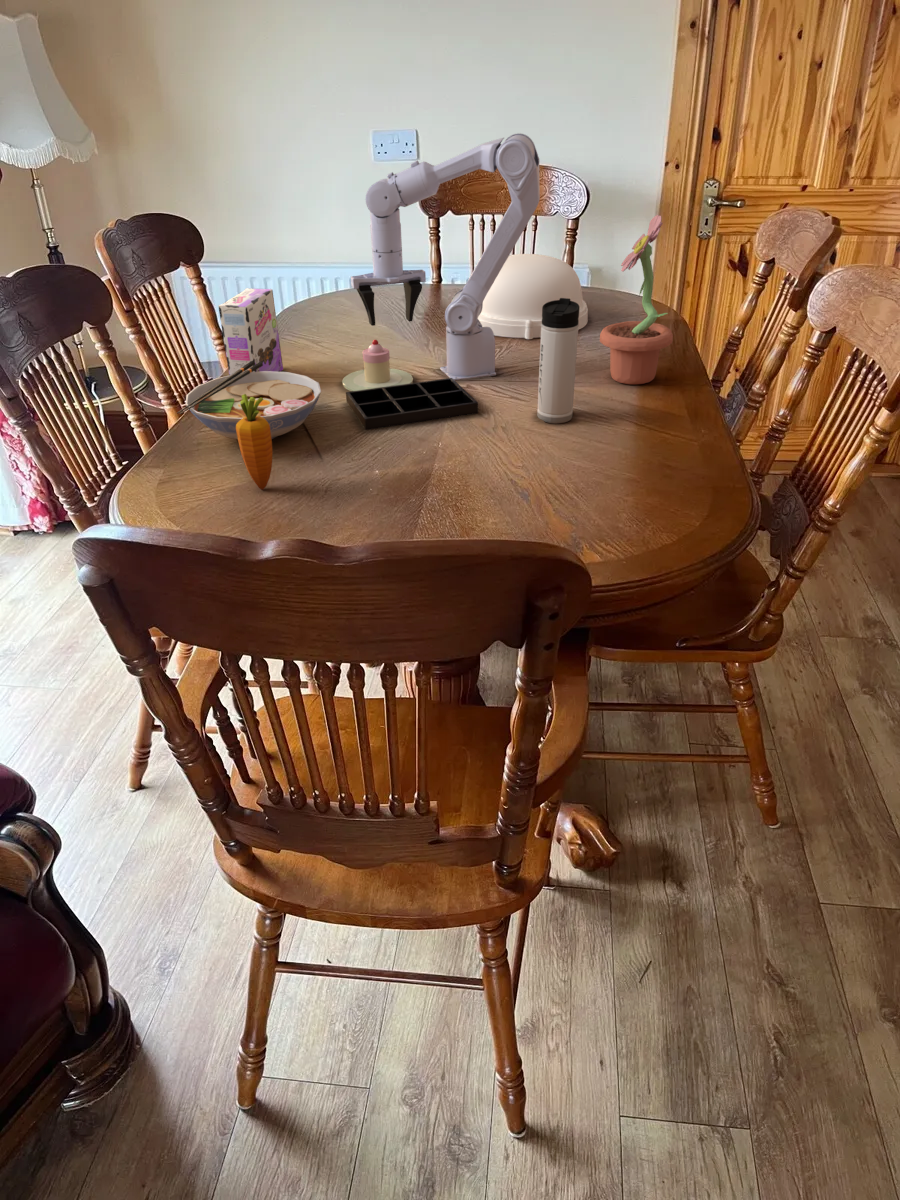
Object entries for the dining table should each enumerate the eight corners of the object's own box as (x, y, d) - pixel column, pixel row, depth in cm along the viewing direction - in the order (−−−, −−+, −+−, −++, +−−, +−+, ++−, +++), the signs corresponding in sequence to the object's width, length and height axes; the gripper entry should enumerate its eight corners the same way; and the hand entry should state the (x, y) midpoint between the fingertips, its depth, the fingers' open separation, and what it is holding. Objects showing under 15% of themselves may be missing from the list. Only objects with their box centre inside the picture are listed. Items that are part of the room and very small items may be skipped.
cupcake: (386, 373, 169) (384, 334, 165) (393, 381, 165) (391, 341, 161) (361, 376, 168) (358, 337, 163) (368, 385, 164) (365, 345, 159)
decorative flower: (598, 364, 174) (612, 206, 158) (667, 367, 172) (687, 208, 155) (594, 388, 162) (608, 221, 146) (667, 392, 160) (690, 223, 143)
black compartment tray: (346, 404, 158) (345, 392, 156) (452, 389, 163) (451, 377, 162) (365, 432, 146) (364, 419, 145) (478, 415, 152) (478, 402, 151)
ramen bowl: (281, 472, 133) (274, 423, 129) (161, 453, 140) (150, 406, 136) (350, 415, 153) (346, 371, 148) (242, 401, 160) (235, 359, 155)
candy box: (258, 392, 163) (246, 306, 154) (230, 391, 164) (216, 305, 155) (284, 369, 175) (273, 287, 165) (257, 368, 176) (245, 286, 166)
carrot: (248, 483, 130) (232, 389, 122) (280, 481, 131) (266, 388, 122) (244, 497, 126) (227, 401, 118) (277, 495, 127) (263, 400, 118)
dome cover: (595, 338, 189) (601, 273, 181) (462, 340, 189) (462, 274, 182) (579, 301, 215) (583, 242, 207) (463, 302, 216) (462, 244, 208)
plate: (401, 368, 174) (401, 364, 174) (422, 390, 163) (421, 385, 163) (335, 376, 170) (335, 372, 170) (352, 399, 159) (351, 395, 159)
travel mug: (575, 412, 152) (583, 299, 141) (568, 425, 147) (575, 309, 136) (542, 408, 154) (547, 296, 143) (533, 421, 149) (538, 306, 138)
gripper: (355, 257, 155) (360, 331, 162) (429, 250, 159) (431, 323, 166) (346, 250, 160) (351, 322, 168) (418, 243, 164) (420, 314, 172)
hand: (390, 322), depth 167 cm, fingers open, 7 cm apart
